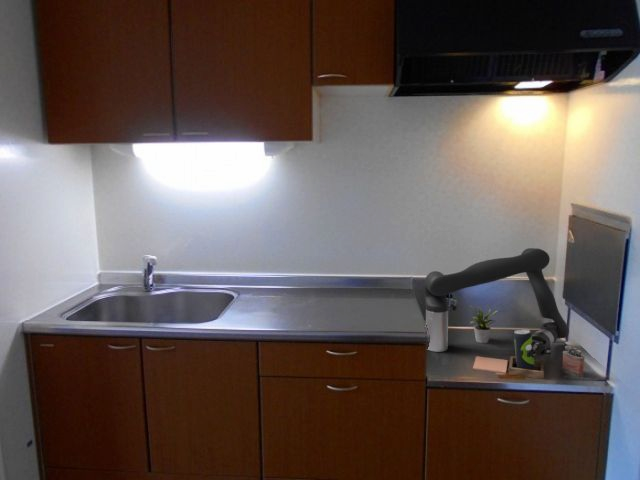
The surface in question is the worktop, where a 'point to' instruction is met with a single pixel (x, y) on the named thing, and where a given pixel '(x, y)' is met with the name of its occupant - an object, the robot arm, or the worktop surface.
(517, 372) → the wooden tray
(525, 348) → the beverage can
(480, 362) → the trivet
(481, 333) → the house plant
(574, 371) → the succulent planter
